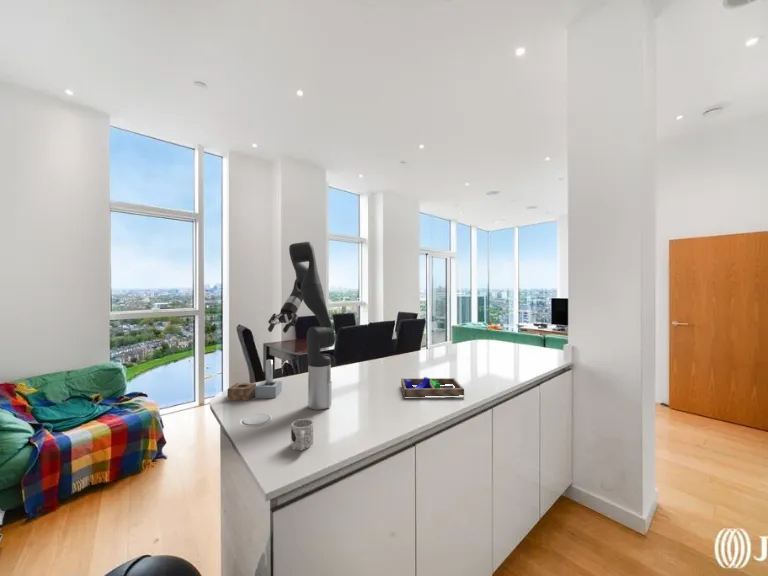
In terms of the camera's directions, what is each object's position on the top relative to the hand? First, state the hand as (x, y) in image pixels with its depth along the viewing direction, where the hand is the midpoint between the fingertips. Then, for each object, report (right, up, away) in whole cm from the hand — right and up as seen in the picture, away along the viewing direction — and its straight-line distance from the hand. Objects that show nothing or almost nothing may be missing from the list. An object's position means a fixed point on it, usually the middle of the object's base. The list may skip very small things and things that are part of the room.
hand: (276, 331), depth 151 cm
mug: (+27, -28, -56) cm, 68 cm away
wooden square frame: (-12, -28, -10) cm, 32 cm away
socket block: (-1, -29, -6) cm, 29 cm away
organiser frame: (+74, -29, -1) cm, 80 cm away
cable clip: (+68, -29, -2) cm, 73 cm away
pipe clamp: (+77, -29, -1) cm, 82 cm away
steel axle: (-1, -29, -6) cm, 29 cm away
